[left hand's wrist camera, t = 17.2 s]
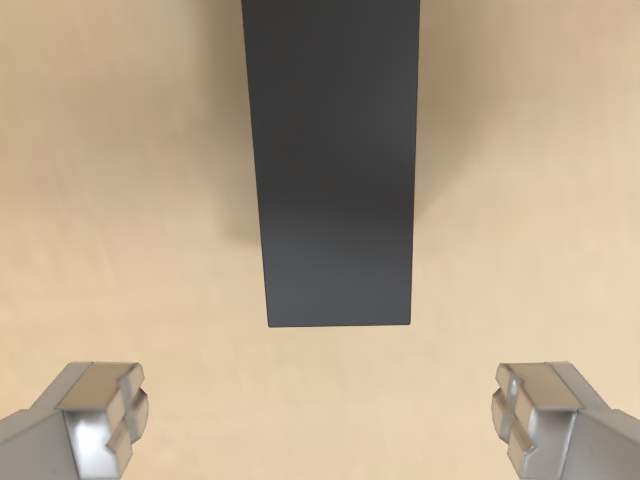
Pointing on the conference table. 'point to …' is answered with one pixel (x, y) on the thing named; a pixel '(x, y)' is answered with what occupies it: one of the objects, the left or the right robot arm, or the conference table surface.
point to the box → (334, 156)
